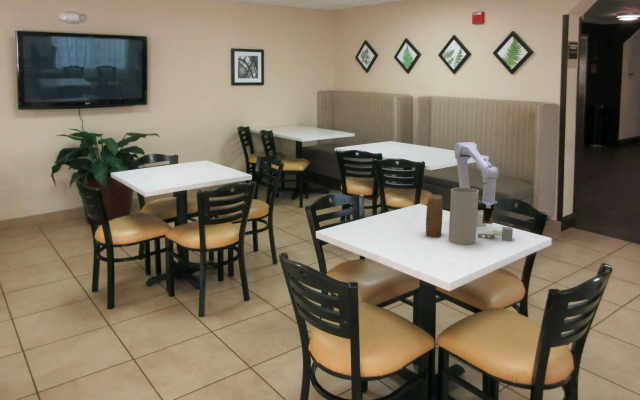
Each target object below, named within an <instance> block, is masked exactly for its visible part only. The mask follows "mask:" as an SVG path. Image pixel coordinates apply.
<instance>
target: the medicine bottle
mask: <svg viewBox="0 0 640 400" xmlns="http://www.w3.org/2000/svg"><path fill="white" fill-rule="evenodd" d="M482 204H483V203H482V202H481V201H478V212H477V227H485V226H486V223H482V221H483V208H482V206H483V205H482Z"/></svg>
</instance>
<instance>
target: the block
mask: <svg viewBox="0 0 640 400" xmlns="http://www.w3.org/2000/svg"><path fill="white" fill-rule="evenodd" d="M443 199H444V198H443V195H442V194H430V195H428V198H427V204H426V217H425V235H426V236H428V237H432V238H433V237H434V238H436V237H437V238H438V237H440V236H441V235H442V229H443V211H444V210H443V208H444V207H443V206H444V205H443Z"/></svg>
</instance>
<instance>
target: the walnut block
mask: <svg viewBox="0 0 640 400" xmlns="http://www.w3.org/2000/svg"><path fill="white" fill-rule="evenodd" d="M493 217H494V211H493V212H492V214H491V218H490V221H485V217H484V211H483V221H482V223H485V225H486V224H489V225H493Z"/></svg>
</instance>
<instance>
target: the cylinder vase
mask: <svg viewBox="0 0 640 400" xmlns="http://www.w3.org/2000/svg"><path fill="white" fill-rule="evenodd" d="M479 192H480V191H479V189H477V188H472V187H470V188H460V187H453V188H451V189H450V202H449V203H450V204H449V205H450V207H449V208H450V209H449V222H448V223H449V224H448V225H449V226H448V227H449V228H448V241H449V242H450V243H452V244H456V245H463V246H464V245H472V244H475V243H476V239H477V227H478V226H477V212H478V202H479V195H480V194H479Z"/></svg>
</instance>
